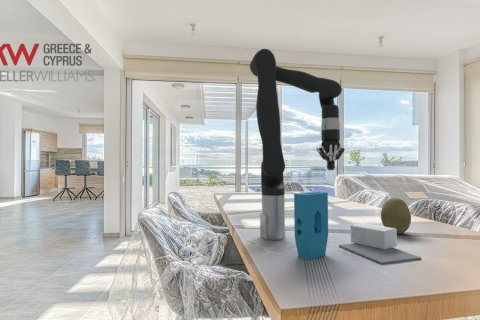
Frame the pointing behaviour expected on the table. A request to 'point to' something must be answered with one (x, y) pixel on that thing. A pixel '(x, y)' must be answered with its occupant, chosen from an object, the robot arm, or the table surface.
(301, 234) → the block
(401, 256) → the mat
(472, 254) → the table surface
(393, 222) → the fruit
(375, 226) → the small box
